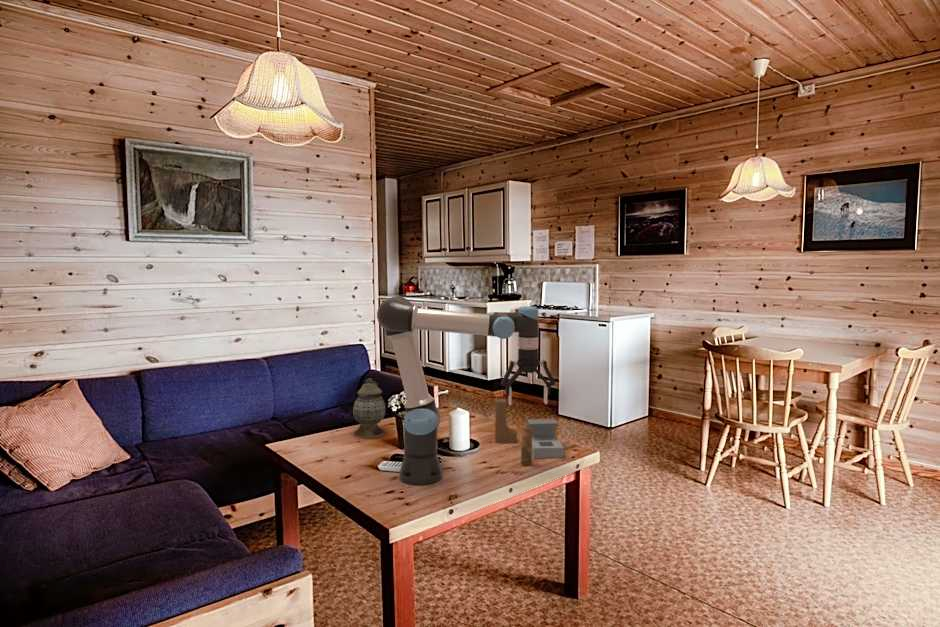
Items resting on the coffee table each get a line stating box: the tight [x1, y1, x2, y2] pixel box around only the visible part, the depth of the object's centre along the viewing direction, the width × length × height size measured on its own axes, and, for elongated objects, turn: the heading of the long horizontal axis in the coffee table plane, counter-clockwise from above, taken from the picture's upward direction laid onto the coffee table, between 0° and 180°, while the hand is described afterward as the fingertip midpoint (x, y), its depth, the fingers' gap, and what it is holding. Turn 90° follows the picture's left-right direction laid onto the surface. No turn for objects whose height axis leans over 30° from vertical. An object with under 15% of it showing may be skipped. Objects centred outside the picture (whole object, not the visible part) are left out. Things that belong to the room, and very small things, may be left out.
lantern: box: [352, 377, 386, 440], centre depth 253 cm, size 14×14×25 cm
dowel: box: [520, 426, 533, 467], centre depth 217 cm, size 4×4×14 cm
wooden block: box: [494, 398, 518, 444], centre depth 243 cm, size 9×4×18 cm, turn 89°
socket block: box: [526, 418, 565, 459], centre depth 231 cm, size 12×16×11 cm
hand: (527, 403), depth 215 cm, fingers open, 13 cm apart
